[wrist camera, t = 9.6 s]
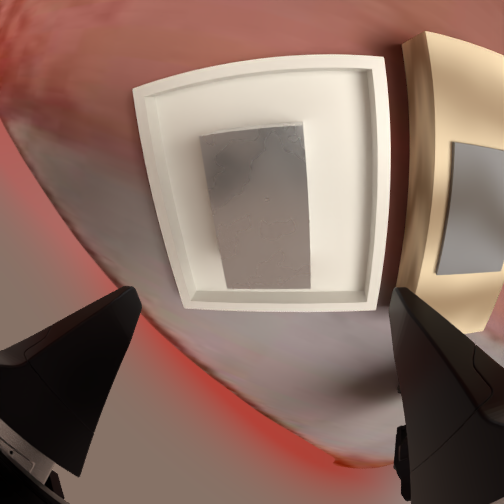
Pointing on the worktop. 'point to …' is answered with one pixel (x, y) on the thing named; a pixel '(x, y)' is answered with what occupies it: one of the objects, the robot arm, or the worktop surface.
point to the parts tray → (318, 172)
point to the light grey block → (260, 204)
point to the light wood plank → (454, 178)
